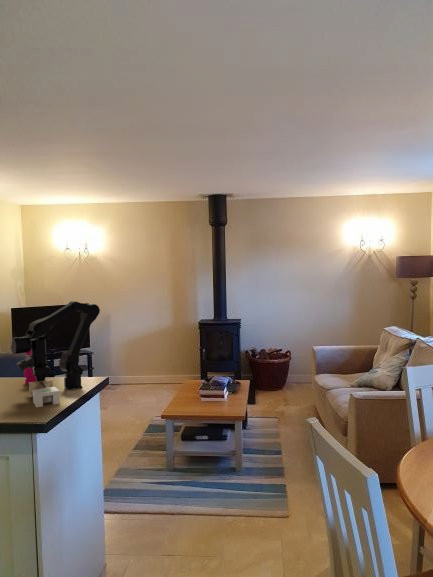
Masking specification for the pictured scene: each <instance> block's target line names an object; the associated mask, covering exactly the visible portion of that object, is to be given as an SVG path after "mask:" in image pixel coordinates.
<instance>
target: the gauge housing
mask: <svg viewBox="0 0 433 577" xmlns="http://www.w3.org/2000/svg"><path fill="white" fill-rule="evenodd" d="M49 395H51V398H52V402H51V403H52V405H59V404H61V397H60V396H61V395H60V389H58V387H56V386H53V387H50V388H41V389H36V390H33V397H32V403H33V405H34V404H35V405H34V406H35V407H36V408H41V407H44V403H43V396H49Z"/></svg>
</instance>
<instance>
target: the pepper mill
mask: <svg viewBox="0 0 433 577" xmlns="http://www.w3.org/2000/svg"><path fill="white" fill-rule="evenodd" d="M30 354H31V350H30V351H29V352H28V353H25V359H27V358H29V357H30ZM31 371H33V368H31V369H29V368H26V369H24V370H23V377H24V378H25V385H29V382H36V381H37V380H36V376H35V375H33V373H32V372H31Z"/></svg>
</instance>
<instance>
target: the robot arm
mask: <svg viewBox="0 0 433 577" xmlns="http://www.w3.org/2000/svg"><path fill="white" fill-rule="evenodd" d="M75 312H78V313H80V322H79V324H78V327H77V329H76V331H75V335H74V336H73V338H72V341H71V344H70V346H69V349H68V351H67V352H62V353H61V357H60V358H59V360H58V362H59V364H58V366H59V368H60V370H61V371H62V372H63V374H64V375H65V376H64V378H63V384H64V385H63V386H64V388H65V389H66V390H67V391H69V390H70V391H71V390H76V389H83V386H82V375H83V372H84V369H83V368H82V367H81V366H80V365H79V363H80V352H81V350H82V347H83V344H84V342H85V339H86V337H87V335H88V333H89V330H90V327H91V325H92V324H93V323H94V322H95V321H96V320H97V318H98V316H99V315H100V313H101V309H100V307H99V306H98V304H95V303H82V302H79V301H73V300H72V301H69V302H68V303H67V304H65V305H64V306H62V307H61V308H59V309H57V310H56V311H55V312H53V313H51V314H50V315H47V316H45V317H43V318H39V319H36V320H35V321H32V322H31V323H29V325H28V329H27V331H26V332H25V334H24V336H22V337H21V336H20V337H17V336H15V337H12V341H11V345H10V349H11V350H10V351H11V353H12V355H21V354H26V353H28V352H29V351H30V350H31V354H30V357H29V358H25V359H23V360H20V361H18V362H17V363H16V366H17V367H18V369H19V371H20V372H24V370H25V369H26V368H29V369H31V368H33V371H31V372H32V373H33V375H35V376H36V380H37V381H44V380H46V377H47V376H48V375H49V374H51V367H49V366H48V362H47V356H48V353H47V342H46V341H47V340H52V338H51V337H50V336H49V335H48V334H47V332H49V331H50V330H51V329H52V328H53V326H54V325H56V324H57V323H58V322H60V321H62V320H63V319H65V318H66V317H68V316H70V315H71V314H73V313H75Z"/></svg>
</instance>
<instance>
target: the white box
mask: <svg viewBox="0 0 433 577" xmlns="http://www.w3.org/2000/svg"><path fill="white" fill-rule="evenodd" d="M50 387H54V384H53V379H45V380H44V381H36V382H29V384H28V393H29V394H28V395H29V398H33V390H36V389H41V388H50ZM47 403H52V398H51V395H49V396H43V404H47Z"/></svg>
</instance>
